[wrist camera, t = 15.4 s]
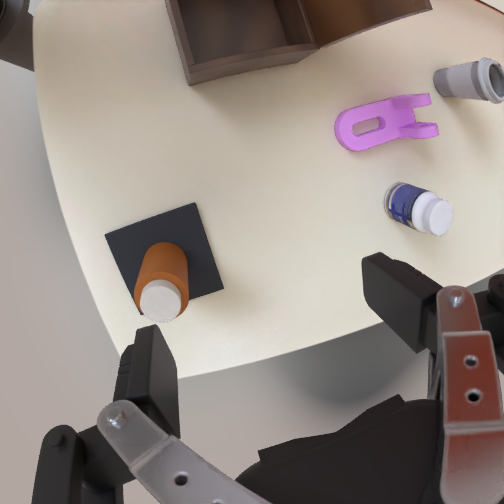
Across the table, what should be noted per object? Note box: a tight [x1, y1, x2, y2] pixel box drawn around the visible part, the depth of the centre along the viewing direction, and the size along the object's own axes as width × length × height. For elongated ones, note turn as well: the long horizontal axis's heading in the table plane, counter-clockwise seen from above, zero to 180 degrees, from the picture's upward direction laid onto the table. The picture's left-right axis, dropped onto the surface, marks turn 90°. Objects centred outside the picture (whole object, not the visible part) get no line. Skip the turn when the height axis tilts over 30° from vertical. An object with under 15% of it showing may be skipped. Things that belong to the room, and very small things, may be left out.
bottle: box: [134, 242, 189, 322], centre depth 34 cm, size 6×6×11 cm
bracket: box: [335, 93, 439, 151], centre depth 35 cm, size 13×6×7 cm, turn 111°
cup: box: [434, 58, 504, 104], centre depth 32 cm, size 7×7×12 cm
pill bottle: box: [384, 183, 453, 236], centre depth 38 cm, size 6×6×10 cm
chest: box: [165, 0, 320, 86], centre depth 27 cm, size 14×13×7 cm
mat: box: [105, 203, 224, 315], centre depth 39 cm, size 12×12×1 cm
